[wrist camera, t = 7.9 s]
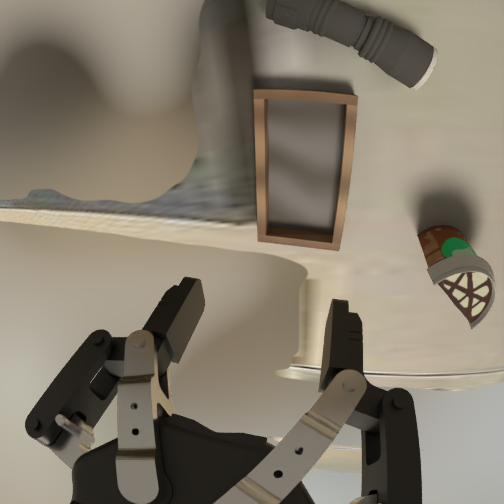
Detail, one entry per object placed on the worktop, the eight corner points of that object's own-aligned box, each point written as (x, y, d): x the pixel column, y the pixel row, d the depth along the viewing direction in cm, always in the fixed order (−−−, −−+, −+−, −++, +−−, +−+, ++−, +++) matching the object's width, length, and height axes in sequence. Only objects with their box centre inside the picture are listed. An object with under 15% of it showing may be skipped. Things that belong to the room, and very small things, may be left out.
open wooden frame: (259, 88, 25) (253, 89, 23) (354, 94, 23) (357, 96, 21) (262, 230, 36) (257, 241, 34) (338, 239, 34) (339, 251, 32)
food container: (483, 254, 29) (509, 304, 21) (454, 279, 32) (472, 331, 25) (444, 197, 27) (477, 245, 19) (410, 228, 30) (431, 282, 23)
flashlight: (254, 19, 17) (274, -30, 13) (270, 20, 20) (286, -20, 16) (418, 95, 17) (444, 50, 13) (406, 84, 21) (427, 46, 17)
